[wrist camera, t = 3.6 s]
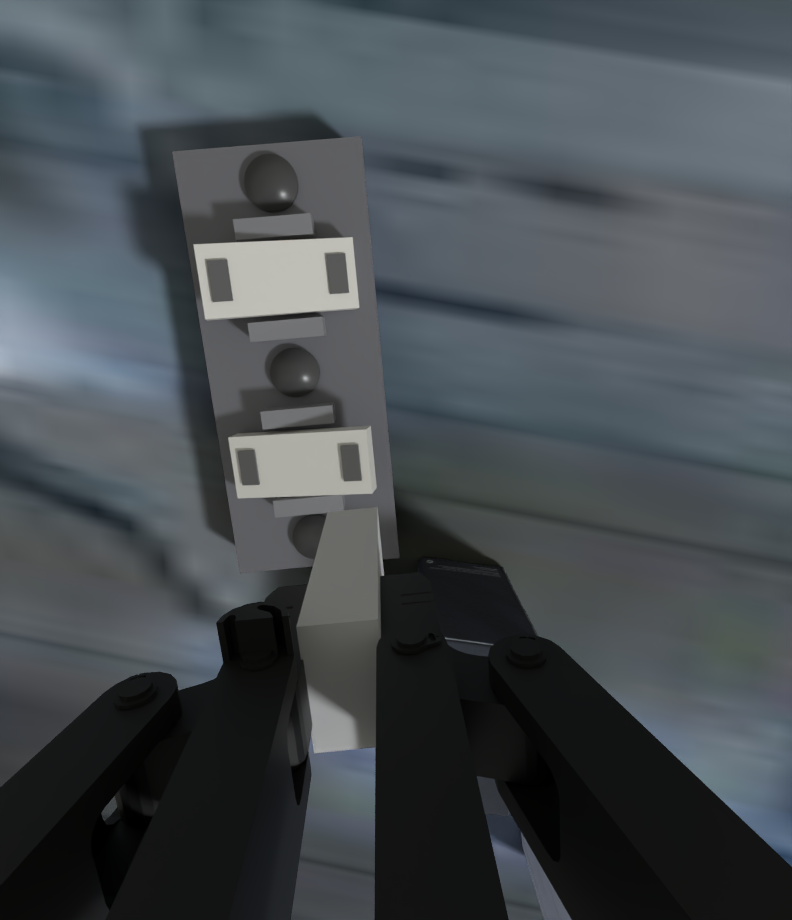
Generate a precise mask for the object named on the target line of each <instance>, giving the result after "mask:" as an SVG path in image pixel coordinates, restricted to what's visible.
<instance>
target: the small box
mask: <svg viewBox="0 0 792 920" xmlns="http://www.w3.org/2000/svg"><path fill="white" fill-rule="evenodd" d="M418 572H420V573H421V574H422V575H424V576H425V577H426V578H427V579H429V580H430V583H431V587H432V592H433V596H434V602H435V606H436V610H437V615H438V620H439V624H440V629H441V633H442V634H443V635H444V637H445V639H446V640H447V644H448V645H449V646H451V647H452V648H454V649H456V650H458V651H461V652H464V653H467V654H472V655H479V656H488V654H489V650H490V647H491V646H492V645H493V644H494V643H495V642H497V641H498V640H500V639H503V638H505V637H508V636H514V635H520V634H527V635H535V636H538V635H537V632H536V631H535V629H534V627H533V625H532V623H531V621H530V619H529V617H528V615H527V614H526V611H525V609H524V608H523V606H522V605H521V602H520V600H519V598H518V596H517V595H516V593H515V591H514V589H513V587H512V585H511V583H510V580H509V578H508V576H507V574H506V572H505V570H504V568H503V567H499V566H486V565H478V564H471V563H463V562H459V561H449V560H447V559H438V558H424V557H422V558H420V560H419V564H418V569H417V573H418ZM477 780H478V784H479V789H480V793H481V798H482V802H483V807H484V811H485V813H486V814H496V815H503V816H508V815H509V810H508V808H507V806H506V805H505V803H504V801H503V799H502V798H501V796H500V794H499V792H498V790H497V787H496V783H495V779H491V778H485V777H480V776H477Z"/></svg>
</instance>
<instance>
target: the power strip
mask: <svg viewBox="0 0 792 920" xmlns="http://www.w3.org/2000/svg"><path fill="white" fill-rule="evenodd" d="M172 154H173V160H174V166H175V172H176V179H177V185H178V191H179V197H180V204H181V210H182V216H183V222H184V228H185V235H186V241H187V247H188V253H189V260H190V266H191V272H192V278H193V285H194V291H195V297H196V303H197V309H198V316H199V322H200V328H201V334H202V341H203V347H204V353H205V359H206V365H207V372H208V378H209V384H210V390H211V397H212V403H213V409H214V415H215V421H216V428H217V434H218V440H219V446H220V453H221V459H222V465H223V471H224V477H225V484H226V490H227V496H228V502H229V509H230V515H231V521H232V527H233V533H234V540H235V546H236V552H237V558H238V565H239V571H240V573H249V572H259V571H270V570H280V569H290V568H301V567H311V566H313V564H314V560H315V557H316V553H317V549H318V546H319V542H320V538H321V535H322V531H323V527H324V524H325V520H326V516H327V513H328V512H331V511H342V510H353V509H363V508H374V507H377V508H378V518H379V528H380V538H381V548H382V559H393V558H400V557H399V546H398V535H397V524H396V513H395V502H394V491H393V480H392V469H391V458H390V447H389V436H388V425H387V414H386V402H385V391H384V380H383V369H382V358H381V347H380V336H379V325H378V314H377V303H376V292H375V281H374V270H373V259H372V248H371V237H370V225H369V214H368V203H367V192H366V181H365V170H364V159H363V148H362V137H361V136H358V137H346V138H333V139H321V140H308V141H296V142H283V143H271V144H258V145H246V146H233V147H221V148H208V149H196V150H183V151H172ZM346 237H353V247H354V257H355V268H356V278H357V288H358V298H359V308H358V309H353V310H340V311H326V312H313V313H300V314H287V315H273V316H260V317H247V318H234V319H220V320H206V319H205V315H204V308H203V302H202V296H201V289H200V283H199V277H198V270H197V264H196V258H195V251H194V245H193V244H213V243H235V242H257V241H279V240H301V239H324V238H346ZM357 426H371V434H372V444H373V454H374V465H375V475H376V485H377V488H376V489H375V491H374V492H373V494H349V495H321V496H292V497H264V498H238V497H237V491H236V485H235V478H234V472H233V465H232V459H231V453H230V446H229V440H228V437H230V436H233V435H235V434H237V433H254V432H271V431H288V430H305V429H322V428H340V427H357Z"/></svg>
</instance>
